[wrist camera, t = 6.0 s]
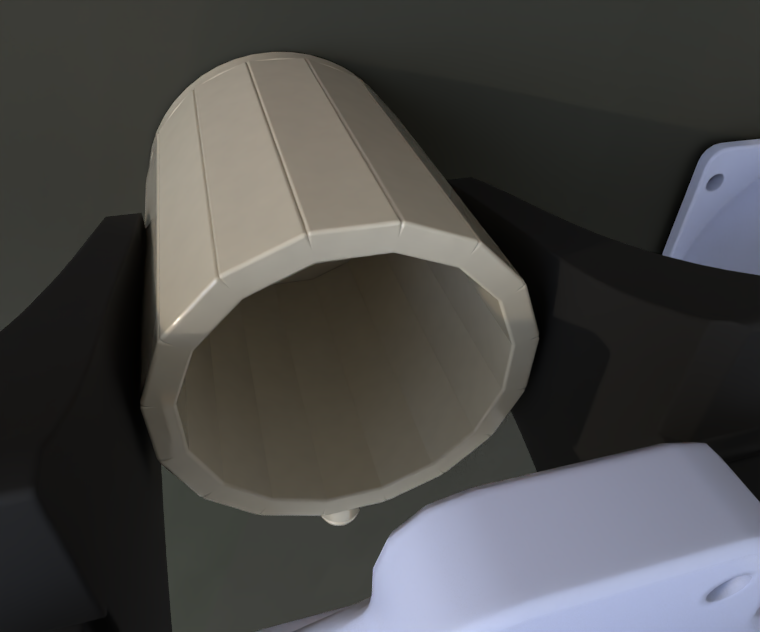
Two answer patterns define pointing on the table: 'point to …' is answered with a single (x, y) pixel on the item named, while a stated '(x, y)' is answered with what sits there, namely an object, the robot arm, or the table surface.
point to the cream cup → (316, 298)
